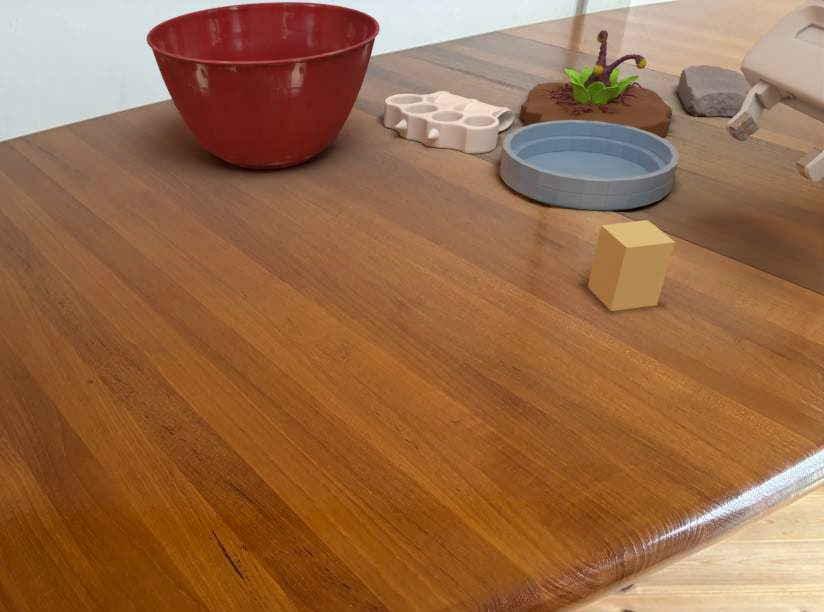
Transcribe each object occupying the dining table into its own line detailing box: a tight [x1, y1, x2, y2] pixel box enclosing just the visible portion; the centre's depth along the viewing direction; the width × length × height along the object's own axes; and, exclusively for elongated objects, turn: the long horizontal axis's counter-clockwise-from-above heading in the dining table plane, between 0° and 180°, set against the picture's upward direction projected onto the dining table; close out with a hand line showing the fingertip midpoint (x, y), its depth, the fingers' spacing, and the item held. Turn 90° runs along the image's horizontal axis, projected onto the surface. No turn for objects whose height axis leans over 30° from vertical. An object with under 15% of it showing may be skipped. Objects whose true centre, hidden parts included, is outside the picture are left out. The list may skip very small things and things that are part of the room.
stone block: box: [676, 64, 752, 118], centre depth 118 cm, size 12×5×10 cm
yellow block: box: [587, 219, 676, 312], centre depth 74 cm, size 4×4×7 cm
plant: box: [519, 29, 673, 138], centre depth 112 cm, size 20×20×11 cm
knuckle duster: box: [383, 90, 515, 155], centre depth 112 cm, size 3×18×15 cm
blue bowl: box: [499, 120, 681, 212], centre depth 97 cm, size 20×20×4 cm
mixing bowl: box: [146, 1, 381, 170], centre depth 105 cm, size 28×28×15 cm
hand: (766, 153), depth 69 cm, fingers open, 8 cm apart
